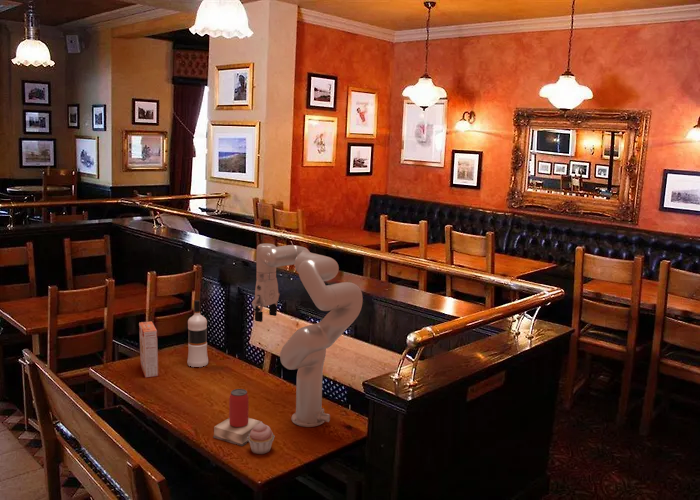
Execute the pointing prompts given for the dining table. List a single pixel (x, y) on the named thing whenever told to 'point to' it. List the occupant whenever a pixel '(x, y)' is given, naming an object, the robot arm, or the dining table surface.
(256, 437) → the cupcake
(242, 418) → the beer can
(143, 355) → the cracker box
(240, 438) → the stand
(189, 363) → the vodka
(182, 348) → the dining table surface
